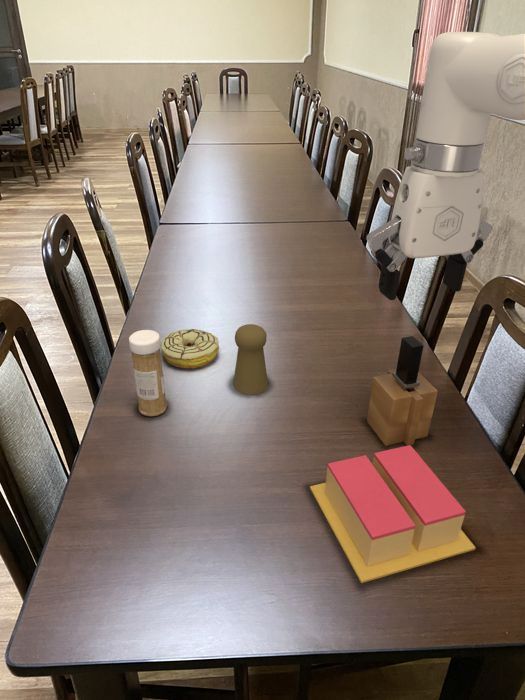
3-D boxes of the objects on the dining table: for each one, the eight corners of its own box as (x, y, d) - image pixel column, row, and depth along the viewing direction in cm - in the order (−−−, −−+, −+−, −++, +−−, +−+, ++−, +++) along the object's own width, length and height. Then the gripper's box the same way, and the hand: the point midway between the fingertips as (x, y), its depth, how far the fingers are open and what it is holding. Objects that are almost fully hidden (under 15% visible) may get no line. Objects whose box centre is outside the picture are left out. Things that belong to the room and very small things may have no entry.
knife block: (403, 409, 87) (411, 365, 82) (431, 440, 80) (442, 394, 76) (363, 417, 85) (369, 372, 80) (388, 450, 78) (397, 403, 74)
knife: (397, 420, 84) (413, 334, 76) (409, 434, 81) (427, 346, 73) (383, 423, 84) (398, 336, 76) (395, 437, 81) (411, 349, 73)
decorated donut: (200, 336, 106) (199, 319, 104) (229, 360, 99) (229, 342, 97) (152, 351, 101) (150, 334, 99) (179, 378, 93) (178, 359, 92)
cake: (408, 465, 76) (414, 435, 73) (475, 549, 64) (485, 518, 61) (309, 488, 72) (312, 458, 69) (361, 583, 60) (366, 551, 57)
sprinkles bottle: (172, 404, 87) (165, 332, 80) (157, 420, 83) (148, 346, 77) (148, 397, 89) (140, 326, 82) (132, 413, 85) (121, 339, 78)
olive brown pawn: (248, 399, 89) (249, 341, 83) (225, 383, 92) (224, 327, 87) (275, 385, 92) (277, 329, 86) (252, 370, 96) (252, 316, 90)
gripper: (396, 168, 56) (374, 312, 65) (530, 160, 61) (493, 296, 70) (363, 152, 62) (347, 287, 71) (487, 147, 67) (458, 273, 76)
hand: (419, 291), depth 71 cm, fingers open, 9 cm apart
